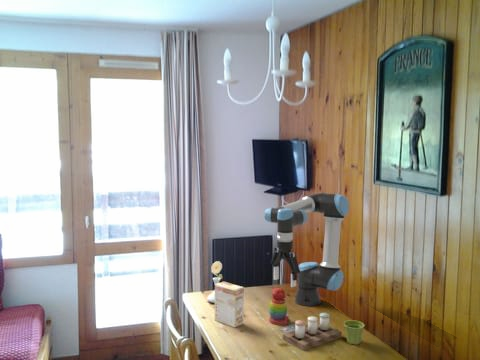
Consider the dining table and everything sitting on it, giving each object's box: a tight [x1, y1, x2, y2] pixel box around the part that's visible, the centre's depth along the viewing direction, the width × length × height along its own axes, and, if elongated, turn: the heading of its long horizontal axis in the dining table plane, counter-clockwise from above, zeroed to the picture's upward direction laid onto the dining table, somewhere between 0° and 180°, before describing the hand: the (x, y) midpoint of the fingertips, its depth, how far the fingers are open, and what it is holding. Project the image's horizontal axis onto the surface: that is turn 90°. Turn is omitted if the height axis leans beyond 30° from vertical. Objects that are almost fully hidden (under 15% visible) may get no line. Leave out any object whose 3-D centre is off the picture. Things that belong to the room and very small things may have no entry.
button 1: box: [294, 319, 306, 338], centre depth 208 cm, size 5×5×7 cm
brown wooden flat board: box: [282, 322, 343, 351], centre depth 213 cm, size 25×14×2 cm, turn 125°
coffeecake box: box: [214, 281, 245, 329], centre depth 231 cm, size 15×7×20 cm, turn 47°
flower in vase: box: [206, 260, 224, 304], centre depth 261 cm, size 13×11×25 cm
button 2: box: [319, 312, 331, 330], centre depth 217 cm, size 5×5×7 cm
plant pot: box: [343, 319, 365, 345], centre depth 208 cm, size 9×9×9 cm
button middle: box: [307, 316, 319, 335], centre depth 212 cm, size 5×5×7 cm
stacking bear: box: [268, 286, 290, 327], centre depth 232 cm, size 11×10×18 cm
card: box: [278, 323, 308, 334], centre depth 224 cm, size 14×6×1 cm, turn 125°
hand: (284, 282), depth 219 cm, fingers open, 13 cm apart
